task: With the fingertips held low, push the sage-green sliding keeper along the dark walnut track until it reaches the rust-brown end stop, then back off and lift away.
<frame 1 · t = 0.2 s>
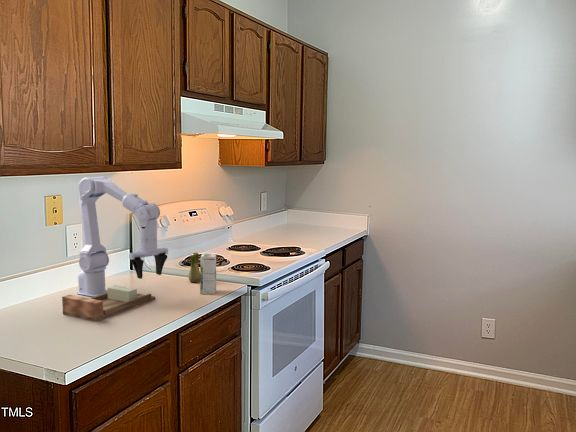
hand: (149, 276, 190), 10 cm above the counter, fingers open, 7 cm apart
syrup box: (208, 292, 206), on the counter
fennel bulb: (194, 282, 221), on the counter
keeper: (122, 293, 191), point 3 cm above the counter, slide at 14.0 cm
track: (111, 306, 187), on the counter
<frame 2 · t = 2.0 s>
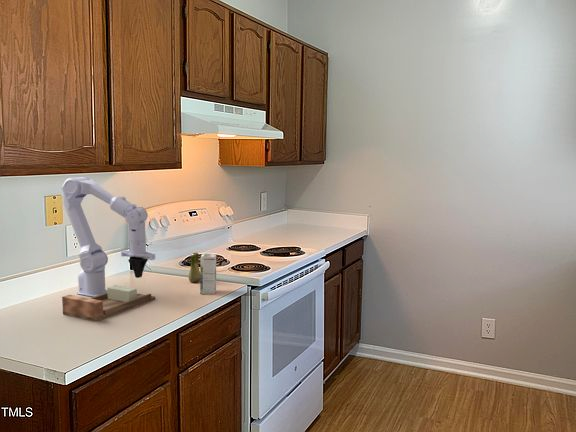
hand: (138, 277, 198), 7 cm above the counter, fingers closed
nothing on the counter moved.
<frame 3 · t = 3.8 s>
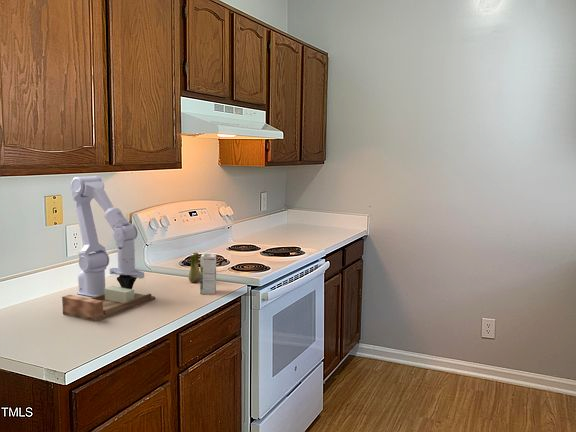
hand: (127, 295, 193), 2 cm above the counter, fingers closed, pressing on keeper
keeper: (119, 294, 190), point 3 cm above the counter, slide at 12.7 cm, touching gripper
everything else where it was.
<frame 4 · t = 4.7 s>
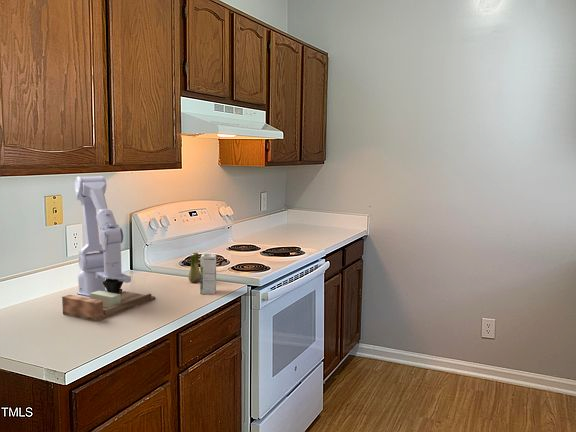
hand: (113, 300, 187), 2 cm above the counter, fingers closed, pressing on keeper
keeper: (105, 299, 184), point 3 cm above the counter, slide at 6.1 cm, touching gripper
everything else where it was.
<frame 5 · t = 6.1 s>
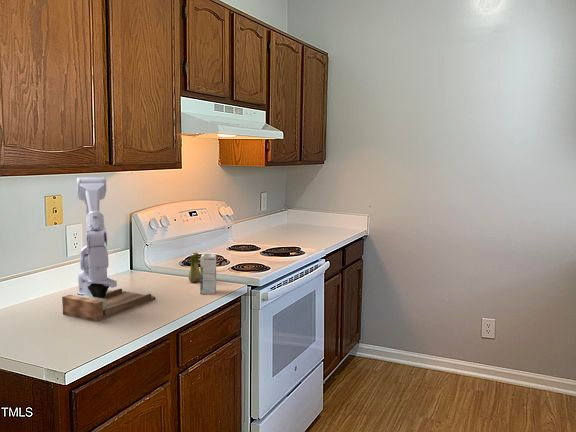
hand: (99, 305, 182), 2 cm above the counter, fingers closed, pressing on keeper
keeper: (90, 304, 178), point 3 cm above the counter, slide at -0.3 cm, touching gripper, track
everything else where it was.
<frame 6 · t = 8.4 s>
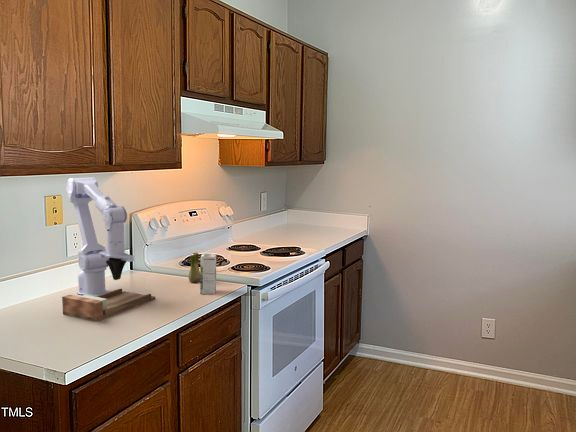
hand: (116, 279, 190), 9 cm above the counter, fingers closed
keeper: (91, 304, 178), point 3 cm above the counter, slide at 0.0 cm
everything else where it was.
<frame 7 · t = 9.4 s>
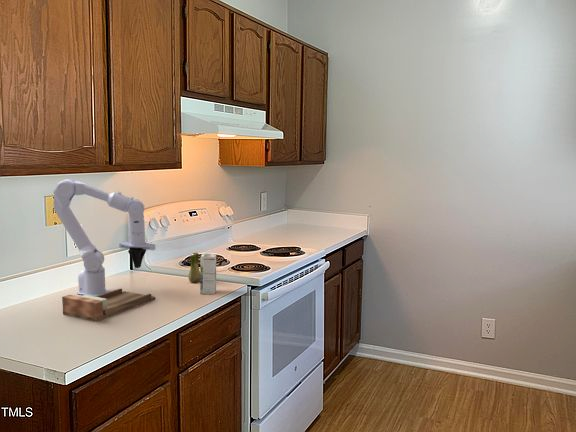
hand: (137, 267, 204), 9 cm above the counter, fingers closed
nothing on the counter moved.
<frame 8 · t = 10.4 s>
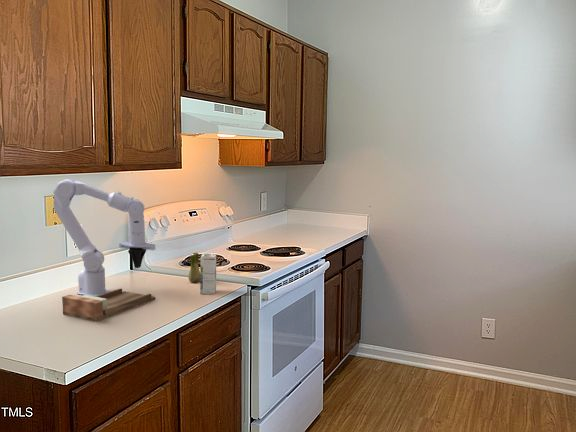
hand: (137, 267, 204), 9 cm above the counter, fingers closed
nothing on the counter moved.
at the end: keeper slide at 0.0 cm; the gripper is holding nothing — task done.
